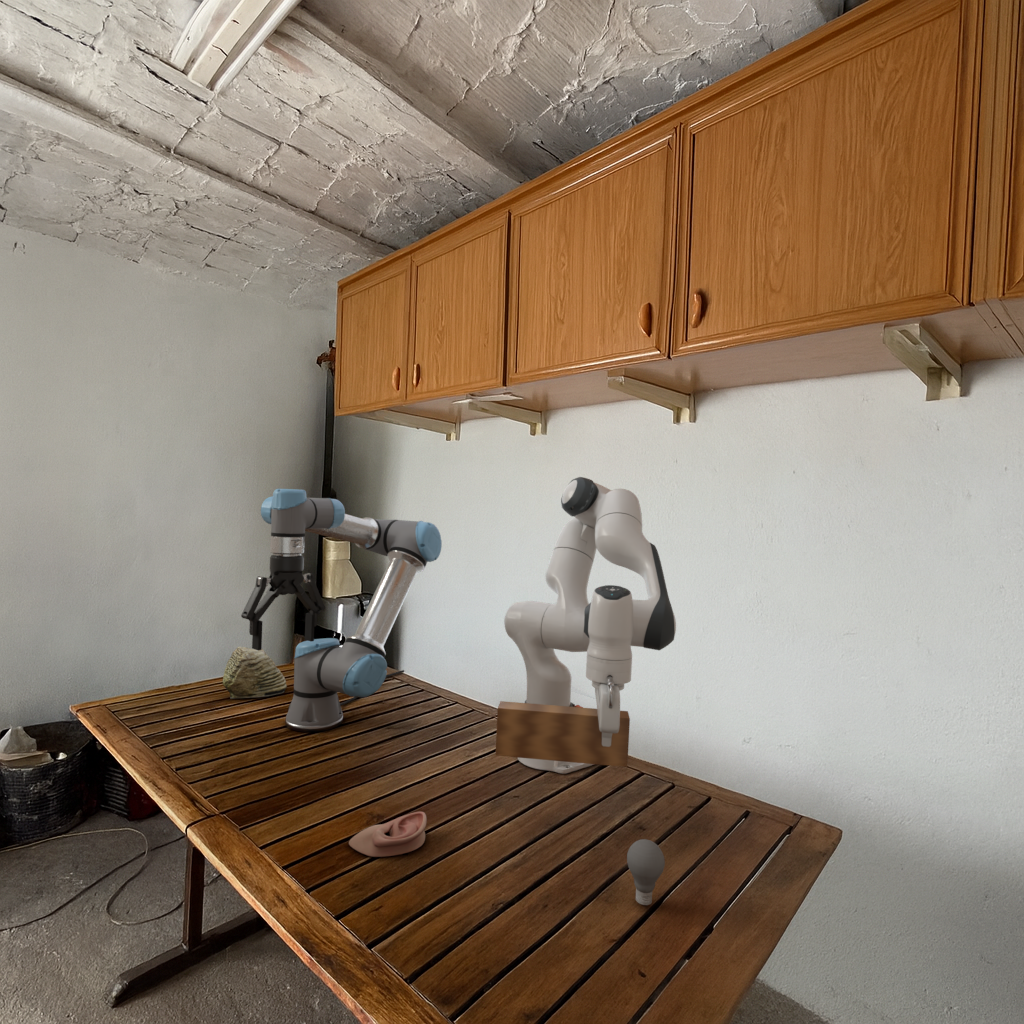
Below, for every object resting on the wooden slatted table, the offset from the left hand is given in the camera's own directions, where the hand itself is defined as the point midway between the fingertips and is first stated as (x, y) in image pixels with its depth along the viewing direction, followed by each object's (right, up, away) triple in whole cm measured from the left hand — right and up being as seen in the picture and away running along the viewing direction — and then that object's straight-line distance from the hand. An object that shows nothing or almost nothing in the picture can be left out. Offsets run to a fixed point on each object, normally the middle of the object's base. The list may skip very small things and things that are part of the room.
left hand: (283, 644), depth 149 cm
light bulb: (+75, -32, -46) cm, 94 cm away
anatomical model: (+31, -30, -31) cm, 53 cm away
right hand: (+72, -14, -24) cm, 77 cm away
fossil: (-27, -26, +49) cm, 62 cm away
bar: (+63, -17, -23) cm, 70 cm away
